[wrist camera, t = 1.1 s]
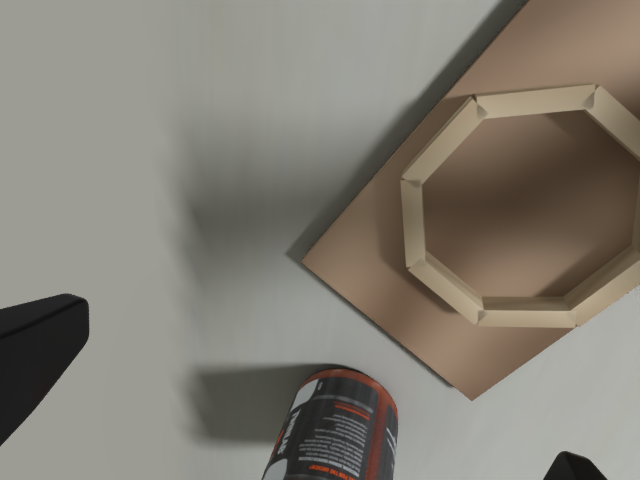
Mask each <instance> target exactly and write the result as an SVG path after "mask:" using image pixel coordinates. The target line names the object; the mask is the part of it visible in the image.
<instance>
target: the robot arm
mask: <svg viewBox="0 0 640 480" xmlns="http://www.w3.org/2000/svg"><path fill="white" fill-rule="evenodd" d="M88 337H89V306H88V302H87V300H85V299H84V298H81V297H78V296H75V295H72V294H60V295H56V296H53V297H48V298H44V299H40V300H36V301H32V302H28V303H24V304H20V305H16V306H12V307H7V308H3V309H0V446H1V445H2V444H3V443H4V442H5V441H6V440H7V439H8V438H9V436H10V435H11V434H12V433H13V432H14V431H15V430H16V429H17V428H18V427H19V426H20V425H21V424H22V423H23V422H24V421H25V419H26V418H27V417H28V416H29V415H30V414H31V413H32V412H33V410H34V409H35V408H36V407H37V406H38V405H39V403H40V402H41V401H42V400H43V398H44V397H45V396H46V395H47V393H48V392H49V391H50V389H51V388H52V387H53V386H54V384H55V383H56V382H57V380H58V379H59V378H60V377H61V375H62V374H63V372H64V371H65V370H66V369H67V367H68V366H69V365H70V364H71V362H72V361H73V360H74V358H75V357H76V356H77V355H78V353H79V352H80V351H81V349H82V348H83V347H84V345H85V344H86V342H87V340H88ZM543 480H607V478H606V477H605V476H604V475H603V474H602V473H601V472H600V471H599V469H598V468H597V467H596V466H595V465H594V464H593V463H592V462H591V461H590V460H589V459H588V458H586V457H583V456H580V455H577V454H574V453H571V452H567V451H563V452H560V453H559V454H558V455H557V457H556V459H555V460H554V462H553V464H552V465H551V467H550V469H549V470H548V472H547V474H546V475H545V477H544V479H543Z"/></svg>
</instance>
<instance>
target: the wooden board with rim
mask: <svg viewBox="0 0 640 480" xmlns="http://www.w3.org/2000/svg"><path fill="white" fill-rule="evenodd" d="M301 263H302V264H304V265H305V266H306V267H307V268H309V269H310V270H311V271H312V272H314V273H315V274H316V275H317V276H318V277H320V278H321V279H322V280H323V281H325V282H326V283H327V284H328V285H330V286H331V287H332V288H333V289H335V290H336V291H337V292H338V293H339V294H341V295H342V296H343V297H344V298H346V299H347V300H348V301H349V302H351V303H352V304H353V305H354V306H355V307H357V308H358V309H359V310H360V311H362V312H363V313H364V314H365V315H367V316H368V317H369V318H370V319H371V320H373V321H374V322H375V323H376V324H378V325H379V326H380V327H381V328H383V329H384V330H385V331H386V332H387V333H389V334H390V335H391V336H392V337H394V338H395V339H396V340H397V341H399V342H400V343H401V344H402V345H403V346H405V347H406V348H407V349H408V350H410V351H411V352H412V353H413V354H415V355H416V356H417V357H418V358H419V359H421V360H422V361H423V362H424V363H426V364H427V365H428V366H429V367H431V368H432V369H433V370H434V371H435V372H437V373H438V374H439V375H440V376H442V377H443V378H444V379H445V380H447V381H448V382H449V383H450V384H451V385H453V386H454V387H455V388H456V389H458V390H459V391H460V392H461V393H463V394H464V395H465V396H466V397H467V398H469V399H470V400H471V401H473V400H474V399H475V398H477V397H478V396H480V395H481V394H483V393H484V392H485V391H487V390H488V389H490V388H491V387H492V386H494V385H495V384H497V383H498V382H499V381H501V380H502V379H504V378H505V377H506V376H508V375H509V374H511V373H512V372H514V371H515V370H516V369H518V368H519V367H521V366H522V365H523V364H525V363H526V362H528V361H529V360H530V359H532V358H533V357H535V356H536V355H537V354H539V353H540V352H542V351H543V350H544V349H546V348H547V347H549V346H550V345H552V344H553V343H554V342H556V341H557V340H559V339H560V338H561V337H563V336H564V335H566V334H567V333H568V332H570V331H571V330H573V329H574V328H575V327H577V326H579V327H580V326H581V325H583V324H584V323H585V322H587V321H588V320H590V319H591V318H593V317H594V316H595V315H597V314H598V313H600V312H601V311H602V310H604V309H605V308H607V307H608V306H609V305H611V304H612V303H614V302H615V301H617V300H618V299H619V298H621V297H622V296H624V295H625V294H626V293H628V292H629V291H631V290H632V289H633V288H635V287H636V286H638V285H639V284H640V0H527V1H526V2H525V3H524V4H523V6H522V7H521V8H520V9H519V10H518V11H517V12H516V14H515V15H514V16H513V17H512V18H511V19H510V21H509V22H508V23H507V24H506V25H505V26H504V27H503V29H502V30H501V31H500V32H499V33H498V34H497V35H496V37H495V38H494V39H493V40H492V41H491V42H490V43H489V45H488V46H487V47H486V48H485V49H484V50H483V51H482V53H481V54H480V55H479V56H478V57H477V58H476V59H475V61H474V62H473V63H472V64H471V65H470V66H469V67H468V69H467V70H466V71H465V72H464V73H463V74H462V75H461V77H460V78H459V79H458V80H457V81H456V82H455V84H454V85H453V86H452V87H451V88H450V89H449V90H448V92H447V93H446V94H445V95H444V96H443V97H442V98H441V100H440V101H439V102H438V103H437V104H436V105H435V106H434V108H433V109H432V110H431V111H430V112H429V113H428V114H427V116H426V117H425V118H424V119H423V120H422V121H421V122H420V124H419V125H418V126H417V127H416V128H415V129H414V130H413V132H412V133H411V134H410V135H409V136H408V137H407V138H406V140H405V141H404V142H403V143H402V144H401V145H400V147H399V148H398V149H397V150H396V151H395V152H394V153H393V155H392V156H391V157H390V158H389V159H388V160H387V161H386V163H385V164H384V165H383V166H382V167H381V168H380V169H379V171H378V172H377V173H376V174H375V175H374V176H373V177H372V179H371V180H370V181H369V182H368V183H367V184H366V185H365V187H364V188H363V189H362V190H361V191H360V192H359V193H358V195H357V196H356V197H355V198H354V199H353V200H352V201H351V203H350V204H349V205H348V206H347V207H346V208H345V210H344V211H343V212H342V213H341V214H340V215H339V216H338V218H337V219H336V220H335V221H334V222H333V223H332V224H331V226H330V227H329V228H328V229H327V230H326V231H325V232H324V234H323V235H322V236H321V237H320V238H319V239H318V240H317V242H316V243H315V244H314V245H313V246H312V247H311V248H310V250H309V251H308V252H307V253H306V254H305V256H304V258H303V259H302V261H301Z"/></svg>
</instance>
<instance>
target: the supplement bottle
mask: <svg viewBox="0 0 640 480" xmlns="http://www.w3.org/2000/svg"><path fill="white" fill-rule="evenodd" d="M397 434H398V413H397V408H396V405H395V403H394V401H393V399H392V397H391V396H390V394H389V393H388V392H387V391H386V390H385V389H384V387H383V386H381V385H380V384H379V383H378V382H377V381H375V380H374V379H372V378H370V377H369V376H366V375H365V374H362V373H359V372H356V371H352V370H347V369H329V370H323V371H321V372H318V373H316V374H314V375H312V376H311V377H309V378H308V379H306V380H305V381H304V382H303V384H302V385H301V386H300V388H299V390H298V392H297V394H296V395H295V398H294V400H293V402H292V404H291V407H290V409H289V412H288V415H287V417H286V419H285V422H284V425H283V427H282V430H281V432H280V435H279V437H278V440H277V443H276V445H275V447H274V450H273V452H272V454H271V457H270V460H269V462H268V464H267V467H266V469H265V471H264V474H263V477H262V479H261V480H393V473H394V464H395V454H396V444H397Z"/></svg>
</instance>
